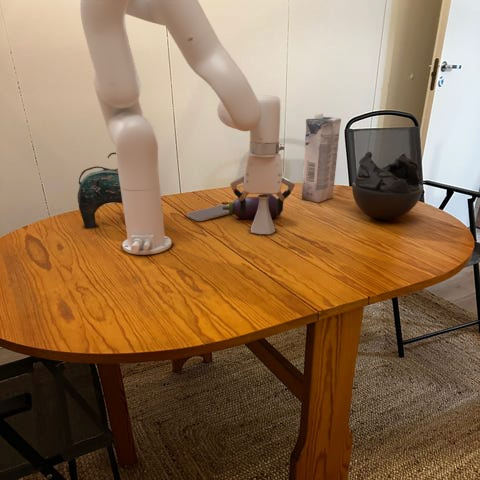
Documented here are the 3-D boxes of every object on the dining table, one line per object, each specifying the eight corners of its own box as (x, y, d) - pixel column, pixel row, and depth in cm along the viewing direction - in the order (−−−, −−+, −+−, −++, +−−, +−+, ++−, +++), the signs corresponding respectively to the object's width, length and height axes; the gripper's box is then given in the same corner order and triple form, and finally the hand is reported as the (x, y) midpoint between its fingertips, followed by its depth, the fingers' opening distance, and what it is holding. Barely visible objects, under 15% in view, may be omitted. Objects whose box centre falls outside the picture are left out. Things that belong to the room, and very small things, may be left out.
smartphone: (185, 213, 138) (224, 204, 146) (185, 216, 138) (224, 207, 146) (198, 219, 133) (238, 209, 141) (198, 222, 133) (238, 212, 141)
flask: (272, 236, 122) (273, 200, 117) (247, 233, 124) (247, 198, 119) (278, 228, 128) (279, 193, 123) (254, 225, 130) (254, 191, 125)
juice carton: (336, 198, 155) (345, 113, 142) (319, 204, 149) (326, 116, 135) (315, 193, 161) (321, 111, 147) (297, 199, 154) (302, 114, 140)
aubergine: (283, 221, 133) (284, 196, 130) (222, 222, 133) (222, 197, 129) (281, 214, 140) (281, 190, 136) (223, 214, 139) (222, 191, 136)
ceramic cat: (149, 217, 138) (141, 149, 128) (152, 223, 132) (144, 153, 122) (82, 224, 132) (68, 153, 122) (82, 230, 127) (68, 157, 117)
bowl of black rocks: (430, 221, 133) (445, 155, 123) (386, 234, 123) (398, 163, 114) (378, 205, 147) (387, 145, 138) (334, 216, 137) (341, 152, 128)
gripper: (295, 147, 118) (290, 210, 127) (230, 146, 118) (230, 209, 126) (299, 151, 112) (293, 218, 120) (230, 150, 111) (230, 217, 120)
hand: (261, 214), depth 123 cm, fingers open, 9 cm apart
